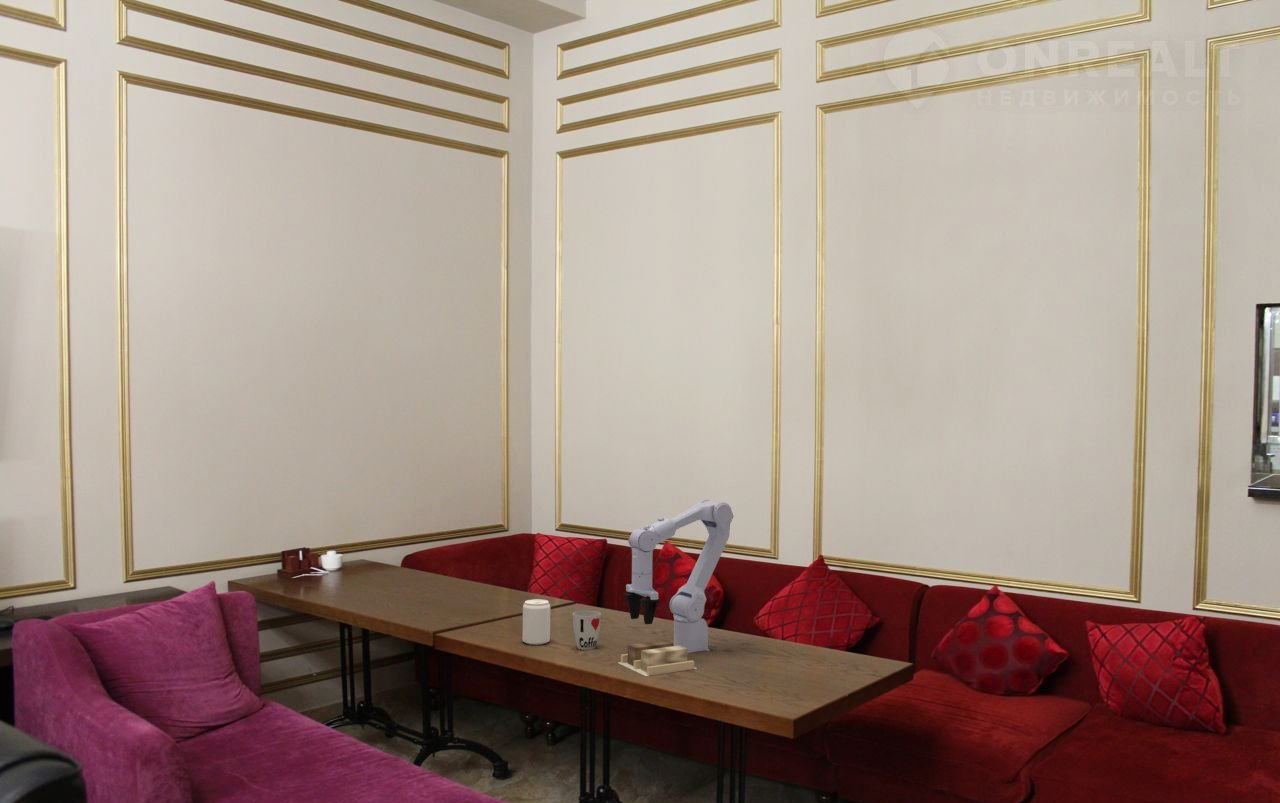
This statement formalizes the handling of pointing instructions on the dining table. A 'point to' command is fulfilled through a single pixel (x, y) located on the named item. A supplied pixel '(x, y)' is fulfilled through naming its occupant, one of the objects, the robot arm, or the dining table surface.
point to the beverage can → (536, 622)
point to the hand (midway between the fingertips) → (641, 621)
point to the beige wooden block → (663, 656)
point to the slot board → (657, 666)
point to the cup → (586, 629)
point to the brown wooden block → (635, 649)
